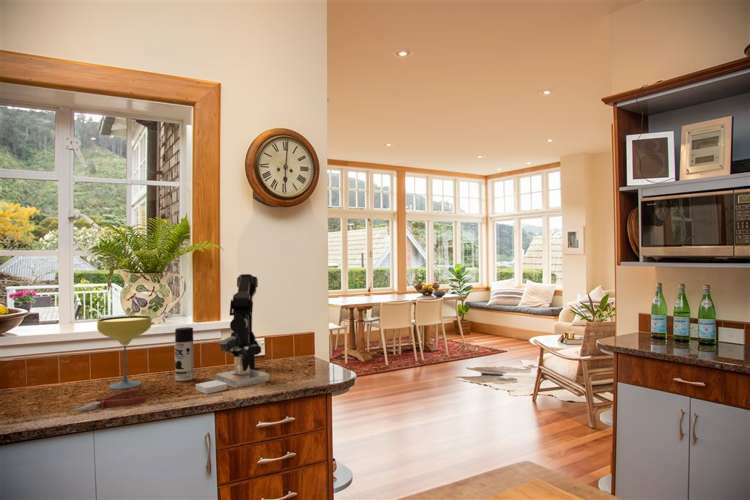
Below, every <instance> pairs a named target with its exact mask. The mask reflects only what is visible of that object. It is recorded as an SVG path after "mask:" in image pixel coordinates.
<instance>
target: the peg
mask: <svg viewBox="0 0 750 500" xmlns="http://www.w3.org/2000/svg"><path fill="white" fill-rule="evenodd" d="M233 359H234V362H233V363H234V366H233V368H234V370H233V371H234V373H237V374H244V373H248V372H249V366H248V368H247V370H246V371H243V365H242V357H241V356H237V357H233Z"/></svg>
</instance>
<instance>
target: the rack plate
mask: <svg viewBox="0 0 750 500" xmlns="http://www.w3.org/2000/svg"><path fill="white" fill-rule="evenodd" d="M214 380H218V381H221V382H224V383H227V386H229V387H232V388H235V389H238V388H243V387H247V386H252V385H257V384H260V383H264V382H269V381H270V373H266V372H264V371H259V370H257V369H253V370H252V369H249V372H248V373H244V374H237V373H234V370H230V371H224V372H220V373H214Z"/></svg>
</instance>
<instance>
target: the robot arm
mask: <svg viewBox="0 0 750 500" xmlns="http://www.w3.org/2000/svg"><path fill="white" fill-rule="evenodd" d="M236 287H237V288H238V289H237V292H236V293H234V294H233V295H232V299H230V307H229V316H233V318H232V319H231V321H230V322H229V323H230V324H229V329H230V330H231V333H230V336H229V337H226V338H225V339H223V340H221V341H219V342H218V344H219V347H220V350H221V351H224V352H226V353H229V354H231V355H232V357H233V358H234V357H237V356H241V357H242V365H243V371H246V370H247V368H248V366H249V369H252V370H257V369H259V366H258V367H257V366H256V361H255V359H256V358H255V357H256V356H257V355H260V354H261V353H262V346H260V345H259V342H258V341H257V338H256V335H255V334H254V332H253V312H254V311H253V310H254V309H253V308H254V302H253V299H254V296H255V295H256V293H257V288H258V287H259V280H258V277H257V276H253V275H252V274H250V273H247V274H246V273H245V274H244V273H243V274H239V276H238V277H237V278H236Z"/></svg>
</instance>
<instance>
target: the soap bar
mask: <svg viewBox="0 0 750 500" xmlns="http://www.w3.org/2000/svg"><path fill="white" fill-rule="evenodd" d="M225 390H228V385H227V383H224V382H221V381H218V380H215V379H214V380H209V381H205V382H200V383H196V384H195V391H198V392H200V393H202V394H205V395H208V394H211V393H216V392H220V391H225Z"/></svg>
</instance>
